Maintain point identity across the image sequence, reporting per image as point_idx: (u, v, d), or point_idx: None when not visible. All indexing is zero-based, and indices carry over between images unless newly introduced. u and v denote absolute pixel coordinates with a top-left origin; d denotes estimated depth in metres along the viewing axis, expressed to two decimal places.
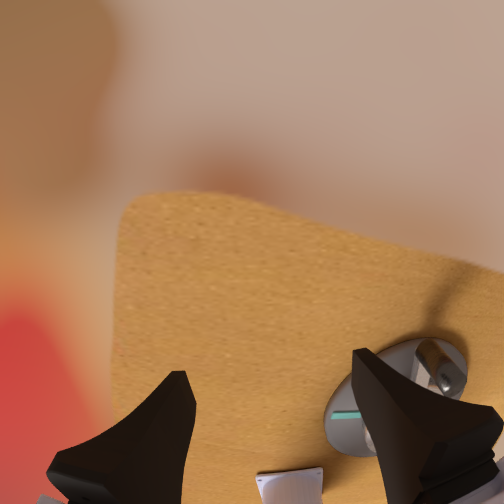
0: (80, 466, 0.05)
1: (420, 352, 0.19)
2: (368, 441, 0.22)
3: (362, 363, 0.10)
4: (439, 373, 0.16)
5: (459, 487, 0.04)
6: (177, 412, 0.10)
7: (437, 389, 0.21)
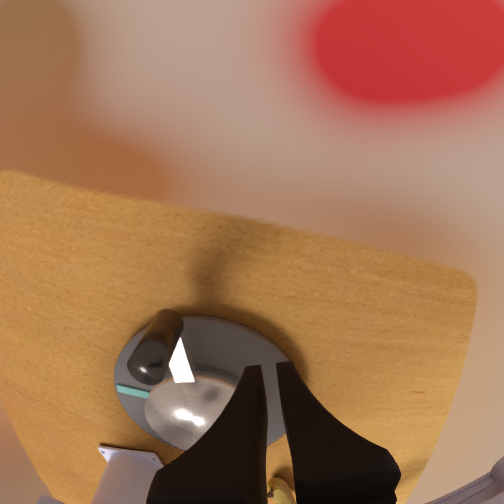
0: (201, 483, 0.05)
1: None
2: (153, 427, 0.21)
3: (277, 377, 0.10)
4: None
5: None
6: (261, 407, 0.10)
7: (217, 384, 0.19)
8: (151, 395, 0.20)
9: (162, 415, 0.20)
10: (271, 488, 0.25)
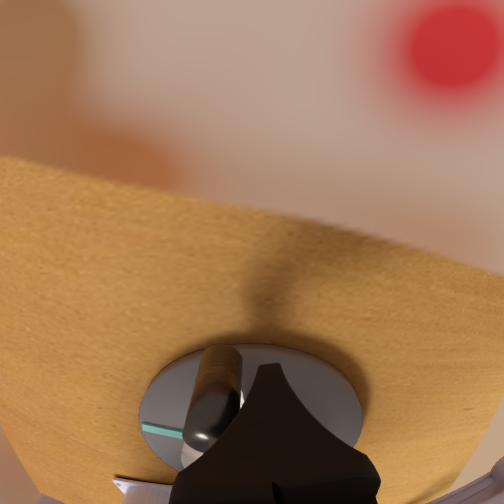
0: (227, 483, 0.05)
1: None
2: None
3: (264, 379, 0.10)
4: (189, 406, 0.10)
5: None
6: None
7: None
8: None
9: None
10: None
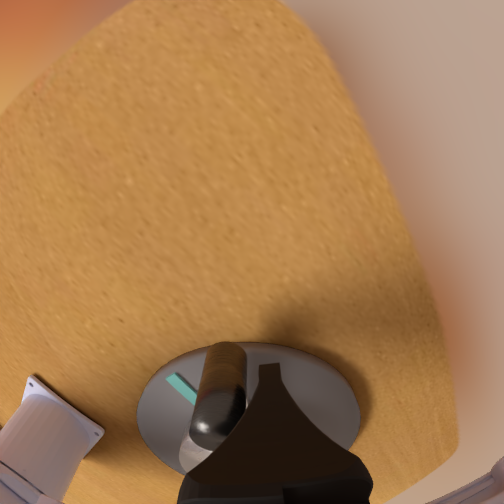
0: (237, 483, 0.05)
1: (205, 361, 0.13)
2: (187, 470, 0.16)
3: (259, 380, 0.10)
4: (196, 402, 0.10)
5: None
6: None
7: None
8: (191, 439, 0.15)
9: (201, 459, 0.16)
10: None
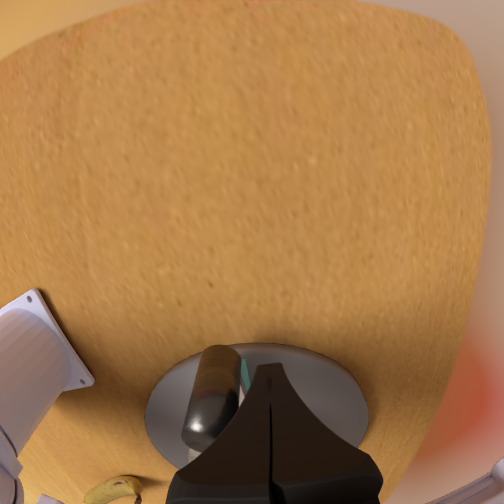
0: (224, 483, 0.05)
1: (198, 365, 0.13)
2: None
3: (265, 379, 0.10)
4: None
5: None
6: None
7: None
8: None
9: None
10: (138, 494, 0.19)
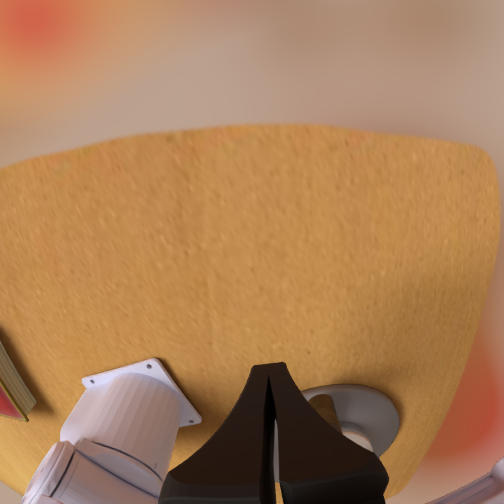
0: (215, 483, 0.05)
1: None
2: None
3: (269, 378, 0.10)
4: None
5: None
6: (269, 407, 0.10)
7: (349, 436, 0.21)
8: None
9: None
10: None
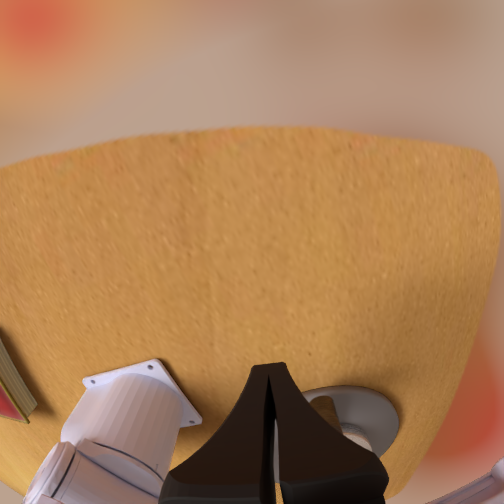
0: (216, 484, 0.05)
1: None
2: None
3: (269, 378, 0.10)
4: None
5: None
6: (269, 407, 0.10)
7: (349, 437, 0.21)
8: None
9: None
10: None
